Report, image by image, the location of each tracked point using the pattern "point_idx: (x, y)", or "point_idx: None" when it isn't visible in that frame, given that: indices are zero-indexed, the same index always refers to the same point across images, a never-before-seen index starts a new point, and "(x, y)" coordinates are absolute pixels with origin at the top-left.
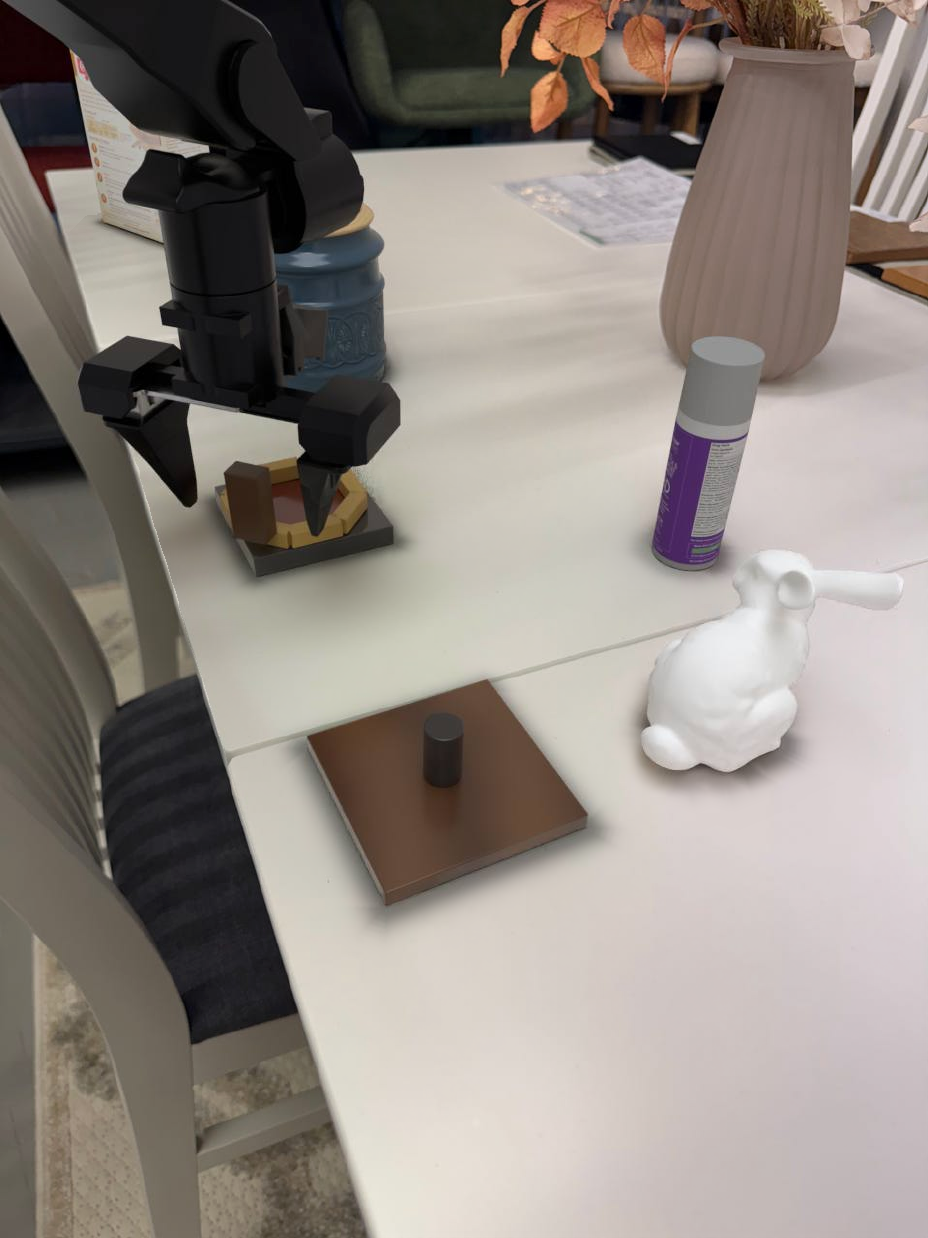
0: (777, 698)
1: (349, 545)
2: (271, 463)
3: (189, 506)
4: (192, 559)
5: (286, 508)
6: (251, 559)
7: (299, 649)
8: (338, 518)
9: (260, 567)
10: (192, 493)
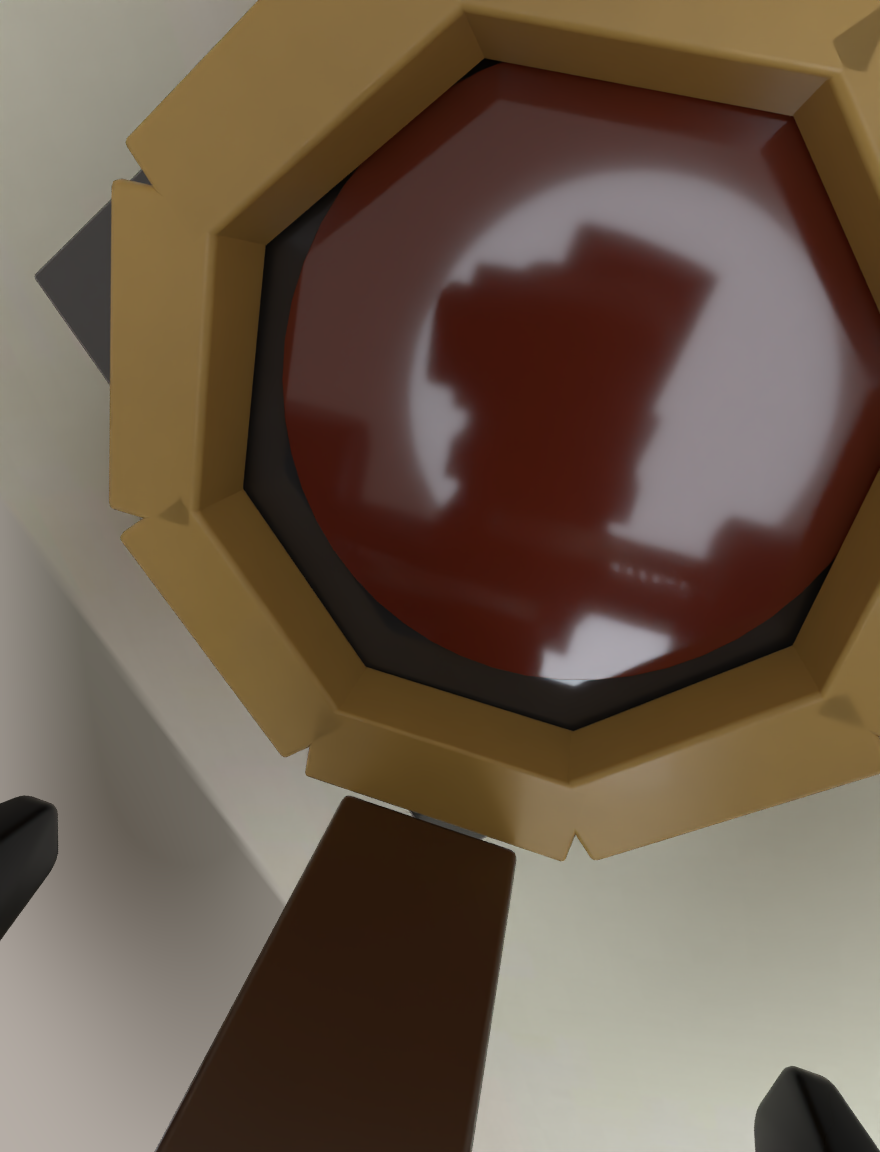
0: None
1: None
2: (252, 48)
3: (49, 871)
4: (201, 695)
5: (485, 464)
6: None
7: (679, 1098)
8: (870, 741)
9: None
10: (3, 879)
